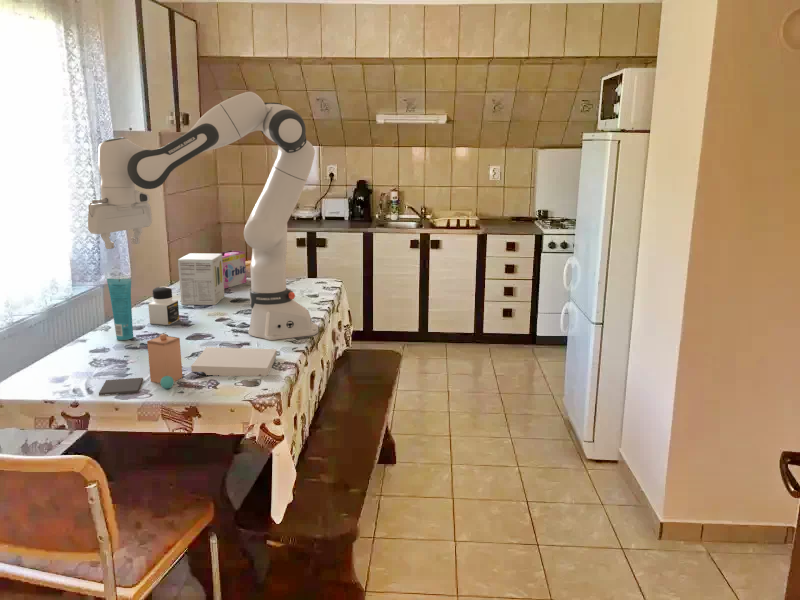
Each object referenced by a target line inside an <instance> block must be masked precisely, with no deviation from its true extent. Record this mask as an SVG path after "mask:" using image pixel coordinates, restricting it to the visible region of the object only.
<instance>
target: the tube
mask: <svg viewBox="0 0 800 600" xmlns="http://www.w3.org/2000/svg"><path fill="white" fill-rule="evenodd" d="M106 282H107V287H108V291H109V298H110V303H111V311H112V316H113V317H112V318H113V323H114V330H115V337H116V340H117V341H128V340H132V339H134V329H133V313H132V312H133V310H132V278H106Z"/></svg>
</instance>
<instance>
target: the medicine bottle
mask: <svg viewBox="0 0 800 600" xmlns="http://www.w3.org/2000/svg"><path fill="white" fill-rule="evenodd" d="M172 290H173V289H172V288H171V287H168V286H158V287H155V288H153V290H152V298H153V301H151V302H149V303H148V305H147V306H148V318H149V323H150V325H159V326H170V325H172V324H173V323H176V322H178V321H180V311H179V310H180V308H179V301H178V299H173V291H172Z"/></svg>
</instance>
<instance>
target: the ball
mask: <svg viewBox="0 0 800 600" xmlns="http://www.w3.org/2000/svg"><path fill="white" fill-rule="evenodd" d="M159 384H160V385H161V387H162V388H163V389H166V390H167V389H168V390H169V389H170V388H172V387H173V386H174V384H175V381H174V380H173V378H172V377H170V376H164V377H163V378H162V379H161V381H160V383H159Z"/></svg>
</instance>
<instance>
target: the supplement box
mask: <svg viewBox="0 0 800 600" xmlns="http://www.w3.org/2000/svg"><path fill="white" fill-rule="evenodd" d="M177 261H178V262H177V264H178V277H179V278H178V279H179V290H180V291H179V292H180V293H179V294H180V302H181V303H180V304H181V305H196V306H197V305H199V306H200V305H202V306H203V305H204V306H205V305H206V306H215V305H216V304H218V303H219V302H220V301H222V299H223V298H225V297H226V296H225V289H224V280H223V263H222V254H217V253H212V252H211V253H203V252H202V253H197V252H193V253H192V252H191V253H190V252H189V253H187V254H186V255H183V256H182V257H180V258H178V260H177Z"/></svg>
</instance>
